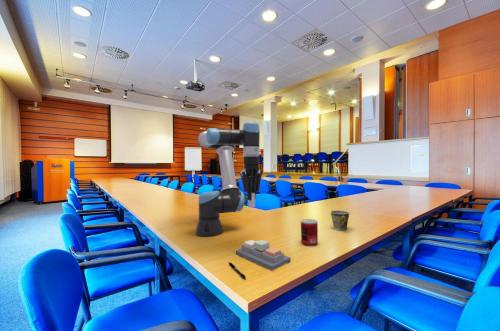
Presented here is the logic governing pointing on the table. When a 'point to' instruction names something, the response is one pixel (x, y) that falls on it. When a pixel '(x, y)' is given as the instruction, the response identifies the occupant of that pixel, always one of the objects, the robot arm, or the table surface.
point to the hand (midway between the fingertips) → (251, 206)
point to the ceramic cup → (340, 220)
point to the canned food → (309, 232)
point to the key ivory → (249, 244)
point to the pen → (237, 271)
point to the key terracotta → (273, 252)
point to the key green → (261, 245)
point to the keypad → (263, 257)
